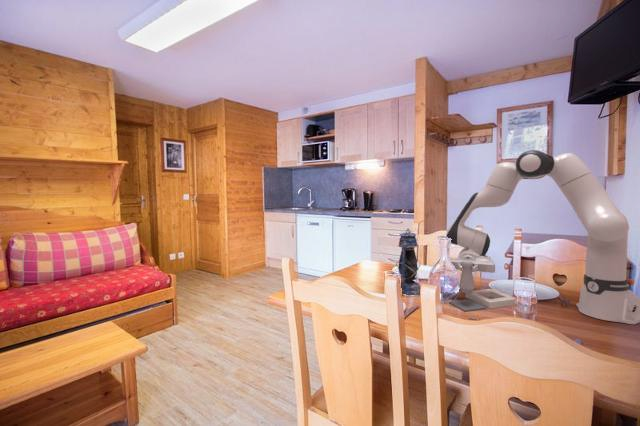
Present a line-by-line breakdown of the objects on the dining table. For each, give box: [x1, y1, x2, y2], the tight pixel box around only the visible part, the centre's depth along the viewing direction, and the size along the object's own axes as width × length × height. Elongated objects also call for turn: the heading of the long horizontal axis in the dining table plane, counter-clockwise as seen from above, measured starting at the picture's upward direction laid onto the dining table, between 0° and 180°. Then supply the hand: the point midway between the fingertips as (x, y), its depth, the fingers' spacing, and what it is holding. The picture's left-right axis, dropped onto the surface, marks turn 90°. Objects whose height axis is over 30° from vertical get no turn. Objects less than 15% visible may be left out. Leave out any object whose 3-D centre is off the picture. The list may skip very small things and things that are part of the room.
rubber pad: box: [448, 298, 487, 313], centre depth 127 cm, size 10×10×1 cm
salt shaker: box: [458, 260, 476, 294], centre depth 126 cm, size 6×6×13 cm
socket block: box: [464, 288, 516, 309], centre depth 132 cm, size 14×14×2 cm
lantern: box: [395, 228, 421, 296], centre depth 145 cm, size 15×12×30 cm
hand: (467, 269), depth 125 cm, fingers closed on salt shaker, 3 cm apart
